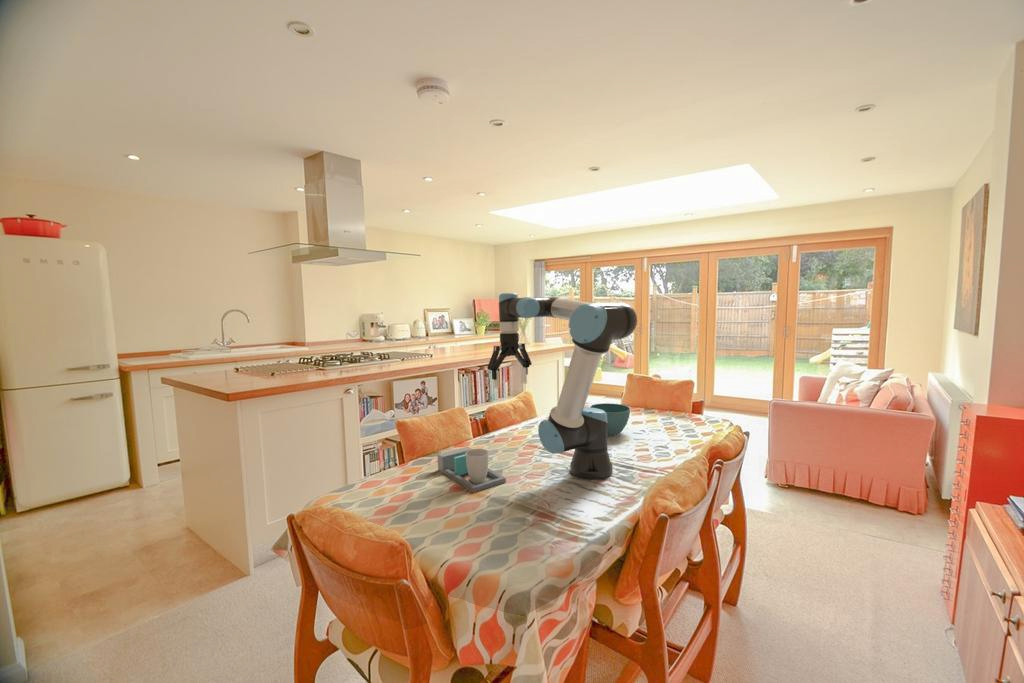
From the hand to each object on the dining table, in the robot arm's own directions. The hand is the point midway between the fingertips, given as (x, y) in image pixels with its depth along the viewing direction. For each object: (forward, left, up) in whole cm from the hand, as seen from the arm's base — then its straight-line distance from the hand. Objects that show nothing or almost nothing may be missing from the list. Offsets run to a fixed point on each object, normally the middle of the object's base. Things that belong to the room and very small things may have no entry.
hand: (510, 385), depth 174 cm
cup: (-13, +24, -29) cm, 40 cm away
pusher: (-3, +24, -28) cm, 37 cm away
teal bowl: (-6, -52, -29) cm, 60 cm away
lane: (-7, +24, -29) cm, 38 cm away
